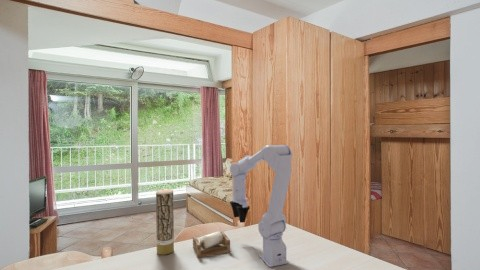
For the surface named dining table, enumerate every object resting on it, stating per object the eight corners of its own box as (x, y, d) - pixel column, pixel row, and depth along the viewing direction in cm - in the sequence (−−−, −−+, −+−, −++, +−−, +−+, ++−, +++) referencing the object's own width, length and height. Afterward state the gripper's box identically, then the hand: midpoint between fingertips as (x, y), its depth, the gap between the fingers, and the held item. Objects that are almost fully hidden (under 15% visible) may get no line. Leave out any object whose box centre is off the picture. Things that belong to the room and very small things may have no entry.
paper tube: (169, 256, 103) (168, 193, 103) (153, 254, 104) (152, 192, 104) (176, 248, 110) (176, 189, 110) (161, 247, 111) (161, 189, 111)
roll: (222, 245, 110) (223, 234, 109) (205, 251, 104) (206, 239, 103) (215, 240, 113) (216, 229, 113) (199, 245, 108) (200, 234, 107)
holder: (230, 252, 106) (230, 240, 106) (197, 258, 101) (197, 245, 101) (223, 242, 115) (223, 231, 115) (192, 247, 111) (192, 236, 111)
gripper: (253, 191, 111) (254, 223, 111) (241, 185, 125) (241, 213, 125) (238, 193, 109) (238, 225, 109) (227, 186, 122) (227, 215, 122)
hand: (239, 219), depth 116 cm, fingers open, 7 cm apart
